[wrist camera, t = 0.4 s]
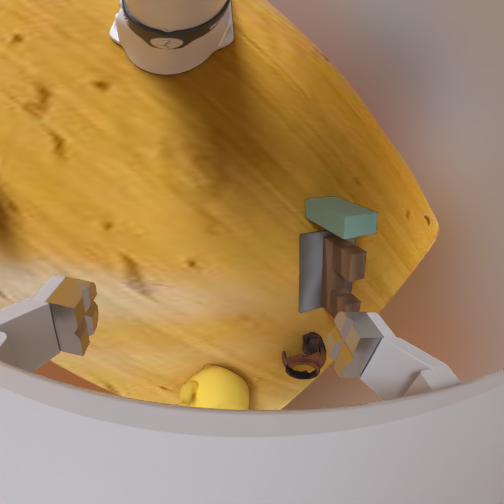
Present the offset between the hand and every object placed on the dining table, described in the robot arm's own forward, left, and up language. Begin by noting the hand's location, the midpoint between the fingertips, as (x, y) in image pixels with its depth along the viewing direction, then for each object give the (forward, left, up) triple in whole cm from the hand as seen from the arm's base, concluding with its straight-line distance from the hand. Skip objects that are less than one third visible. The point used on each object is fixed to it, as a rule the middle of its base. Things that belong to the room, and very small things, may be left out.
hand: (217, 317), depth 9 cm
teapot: (+40, +7, -36) cm, 54 cm away
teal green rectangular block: (+3, +25, -36) cm, 44 cm away
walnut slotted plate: (+15, +29, -36) cm, 49 cm away
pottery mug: (+33, +27, -36) cm, 56 cm away
